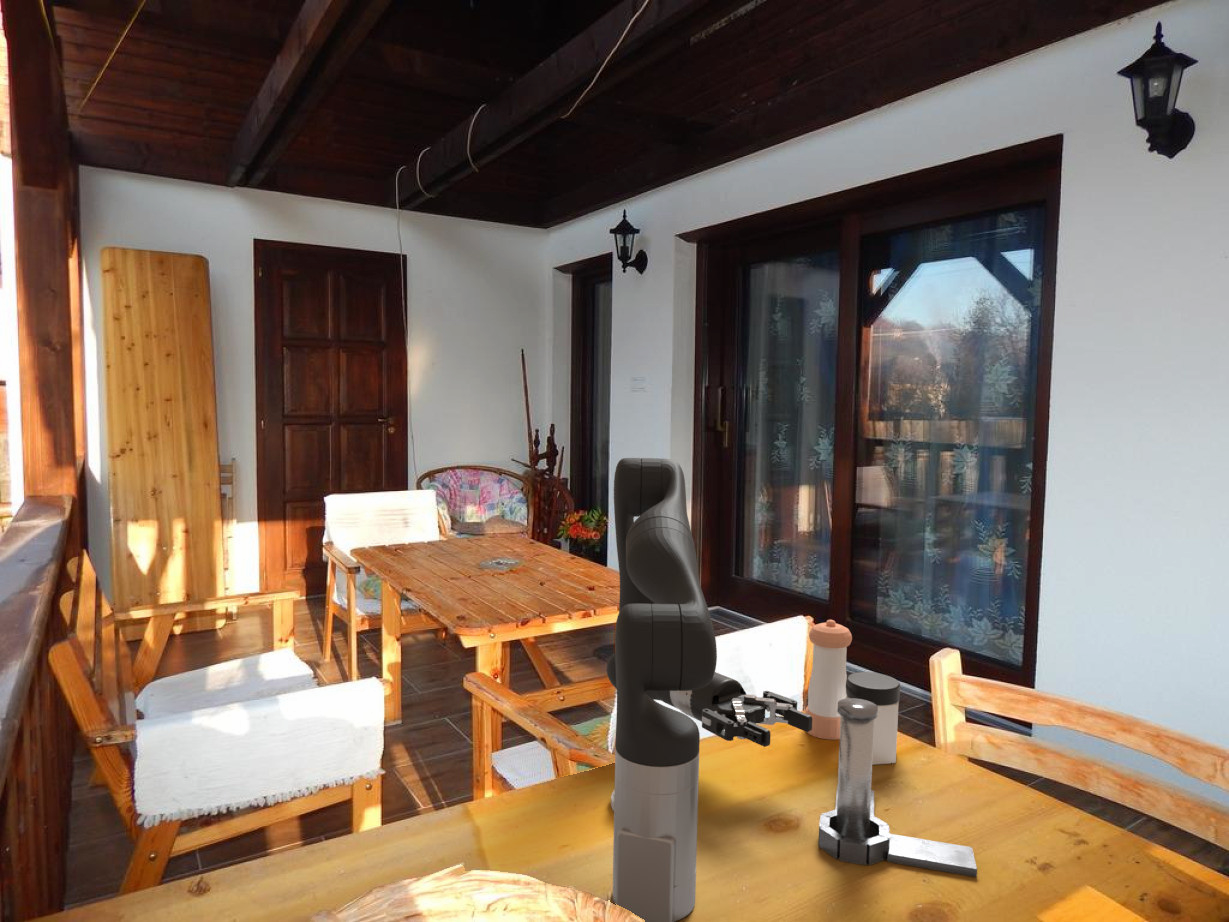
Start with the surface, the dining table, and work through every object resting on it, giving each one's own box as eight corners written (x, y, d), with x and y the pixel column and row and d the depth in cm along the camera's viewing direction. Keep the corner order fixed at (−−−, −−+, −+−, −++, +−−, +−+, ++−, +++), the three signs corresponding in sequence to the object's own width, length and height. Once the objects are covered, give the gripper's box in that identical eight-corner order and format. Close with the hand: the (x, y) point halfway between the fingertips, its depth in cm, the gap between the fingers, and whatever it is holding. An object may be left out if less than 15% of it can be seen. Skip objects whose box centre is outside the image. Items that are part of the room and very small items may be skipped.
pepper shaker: (825, 743, 133) (830, 628, 132) (795, 727, 140) (799, 617, 138) (858, 735, 137) (862, 623, 136) (827, 719, 143) (831, 612, 142)
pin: (872, 858, 100) (878, 714, 98) (831, 851, 101) (837, 709, 100) (871, 838, 104) (877, 701, 103) (833, 832, 106) (838, 696, 104)
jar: (845, 739, 135) (848, 668, 134) (897, 747, 132) (900, 674, 132) (840, 761, 127) (843, 685, 126) (896, 770, 124) (899, 693, 123)
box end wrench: (978, 885, 94) (979, 864, 94) (817, 856, 100) (817, 837, 100) (961, 810, 112) (962, 793, 112) (824, 789, 117) (825, 773, 117)
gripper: (671, 680, 118) (754, 716, 106) (740, 663, 127) (824, 693, 114) (670, 731, 119) (753, 772, 106) (739, 709, 128) (822, 745, 115)
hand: (790, 731), depth 110 cm, fingers open, 8 cm apart
